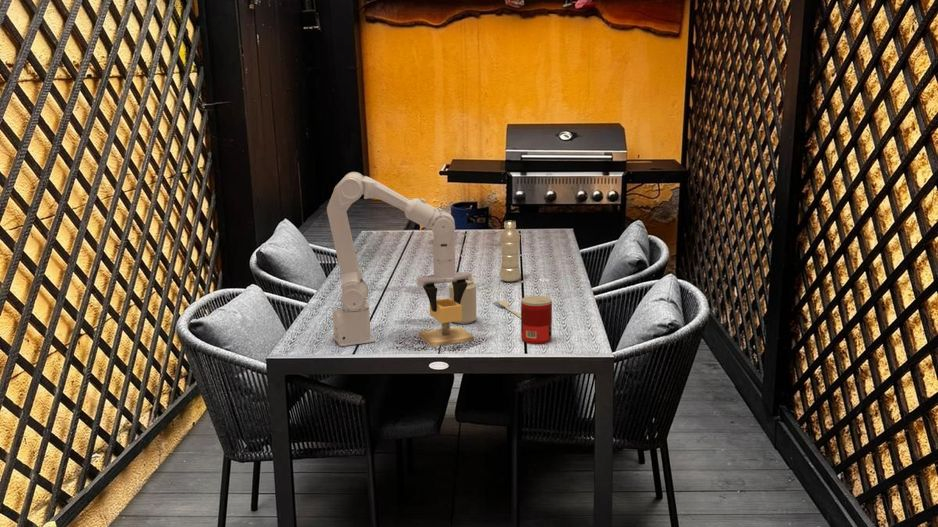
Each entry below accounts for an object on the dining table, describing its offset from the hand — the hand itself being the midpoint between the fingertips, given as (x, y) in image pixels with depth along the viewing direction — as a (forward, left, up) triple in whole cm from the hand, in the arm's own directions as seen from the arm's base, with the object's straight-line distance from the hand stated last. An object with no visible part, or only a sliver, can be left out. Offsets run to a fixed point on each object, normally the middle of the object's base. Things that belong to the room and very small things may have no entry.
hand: (445, 309), depth 232 cm
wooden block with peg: (0, 0, -8) cm, 8 cm away
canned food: (+21, -11, -8) cm, 25 cm away
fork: (+26, +16, -9) cm, 32 cm away
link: (0, 0, -2) cm, 2 cm away
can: (+10, +13, -8) cm, 18 cm away
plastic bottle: (+41, +48, -8) cm, 63 cm away
